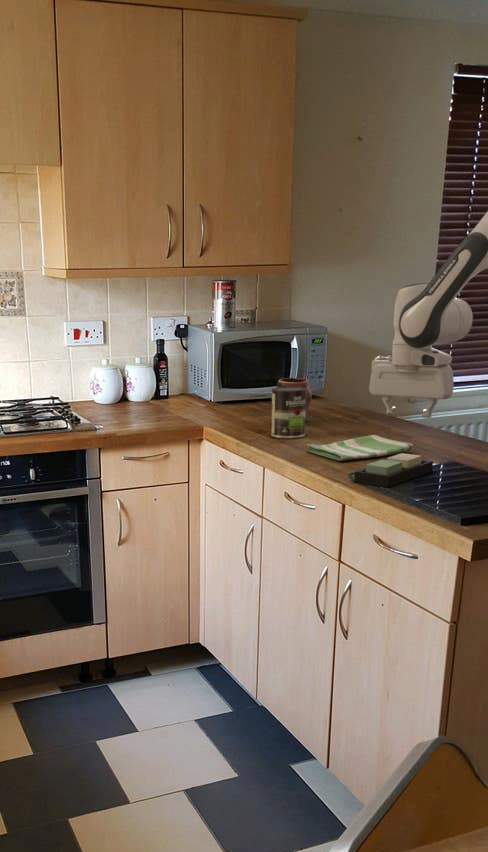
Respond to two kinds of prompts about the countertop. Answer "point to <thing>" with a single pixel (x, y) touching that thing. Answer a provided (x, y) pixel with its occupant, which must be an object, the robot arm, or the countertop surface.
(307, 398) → the decorative planter
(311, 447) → the dish towel
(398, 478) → the divided tray
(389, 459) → the cream pad
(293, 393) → the coffee can
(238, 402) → the countertop surface
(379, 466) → the sage pad
